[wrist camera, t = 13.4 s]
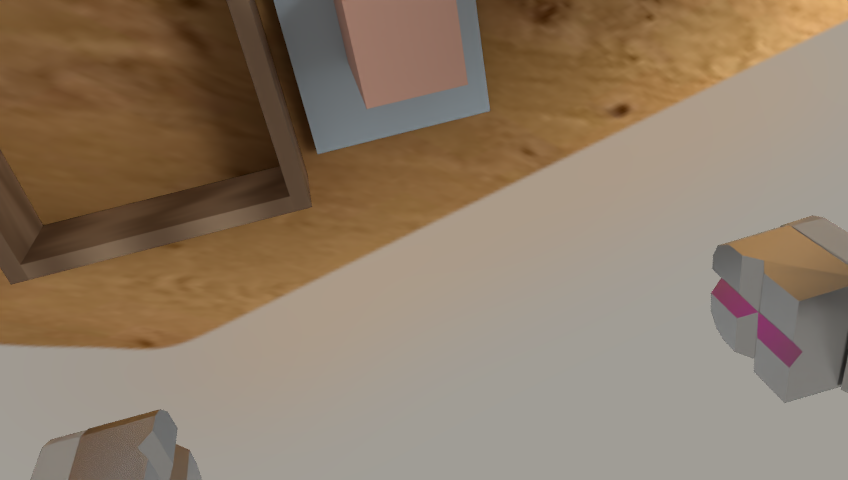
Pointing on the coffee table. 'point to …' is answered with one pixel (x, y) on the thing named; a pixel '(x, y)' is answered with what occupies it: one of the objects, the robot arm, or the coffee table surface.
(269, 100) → the wooden frame
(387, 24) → the block
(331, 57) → the mat
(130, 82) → the coffee table surface
